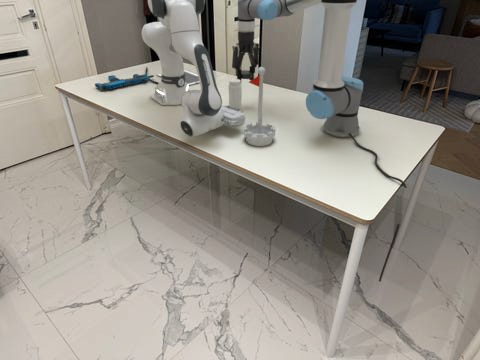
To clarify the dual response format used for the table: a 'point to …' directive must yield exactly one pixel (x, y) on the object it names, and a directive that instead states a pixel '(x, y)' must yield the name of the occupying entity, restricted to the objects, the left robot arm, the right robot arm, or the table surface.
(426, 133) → the table surface
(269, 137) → the flag stand
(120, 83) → the submachine gun
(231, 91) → the jar
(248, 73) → the lid
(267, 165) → the table surface
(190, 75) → the tablet
